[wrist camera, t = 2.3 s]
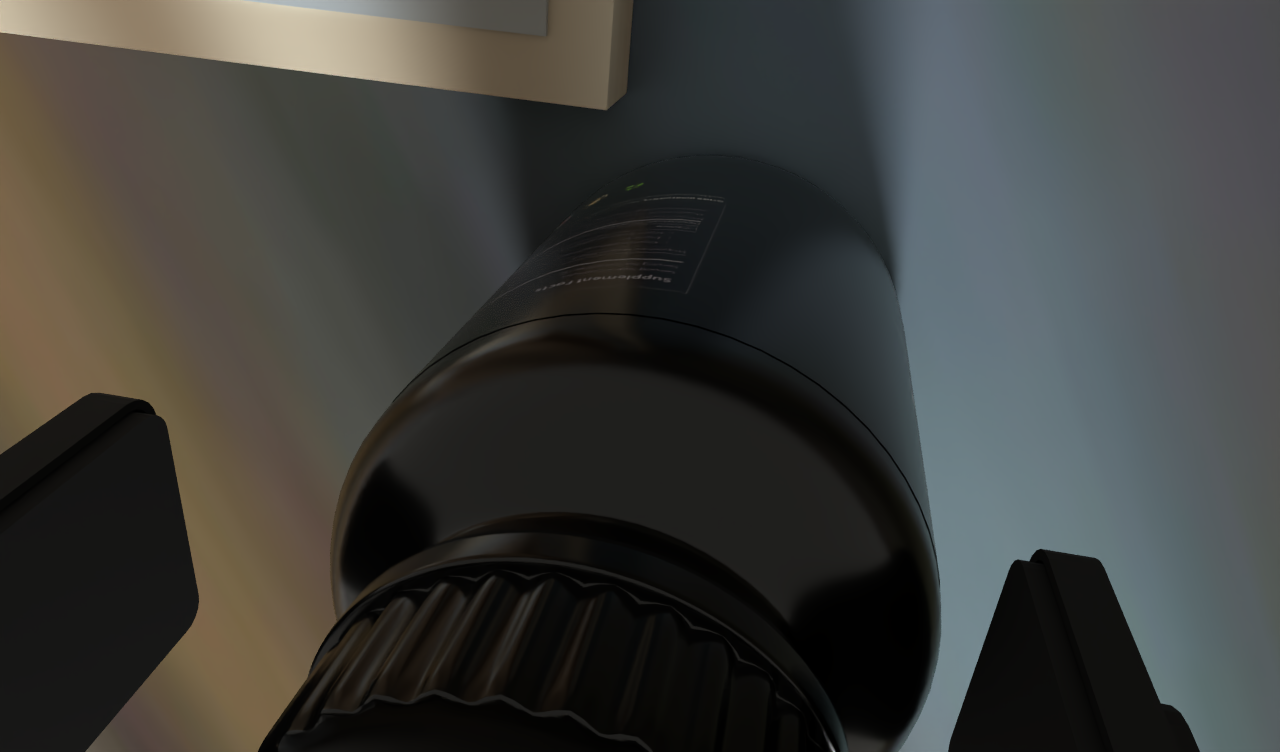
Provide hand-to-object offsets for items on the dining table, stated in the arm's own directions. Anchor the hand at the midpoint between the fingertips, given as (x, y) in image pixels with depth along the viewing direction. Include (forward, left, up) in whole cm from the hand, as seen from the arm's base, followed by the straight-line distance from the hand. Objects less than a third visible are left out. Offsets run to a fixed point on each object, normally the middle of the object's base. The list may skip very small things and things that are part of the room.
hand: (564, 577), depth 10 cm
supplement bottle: (-1, 0, -8) cm, 8 cm away
